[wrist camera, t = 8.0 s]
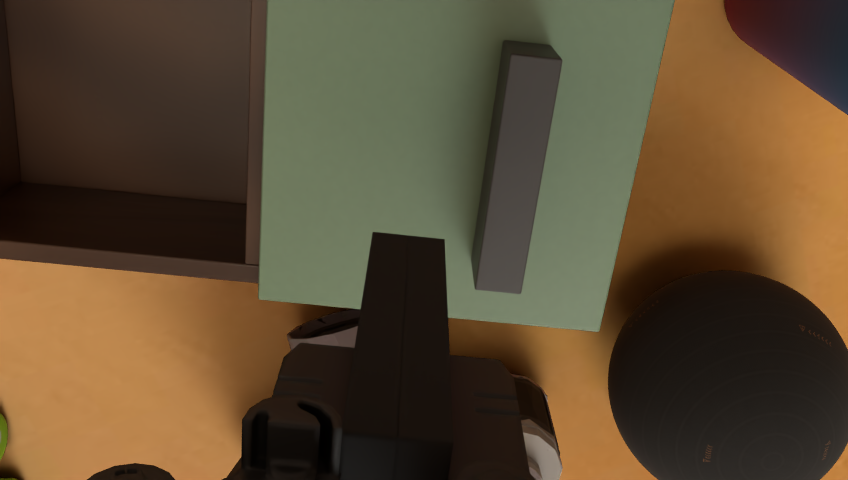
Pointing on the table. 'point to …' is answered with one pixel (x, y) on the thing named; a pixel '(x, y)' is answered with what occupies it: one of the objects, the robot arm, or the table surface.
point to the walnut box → (133, 134)
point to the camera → (529, 395)
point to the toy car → (3, 440)
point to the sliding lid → (456, 146)
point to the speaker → (730, 381)
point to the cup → (799, 40)
